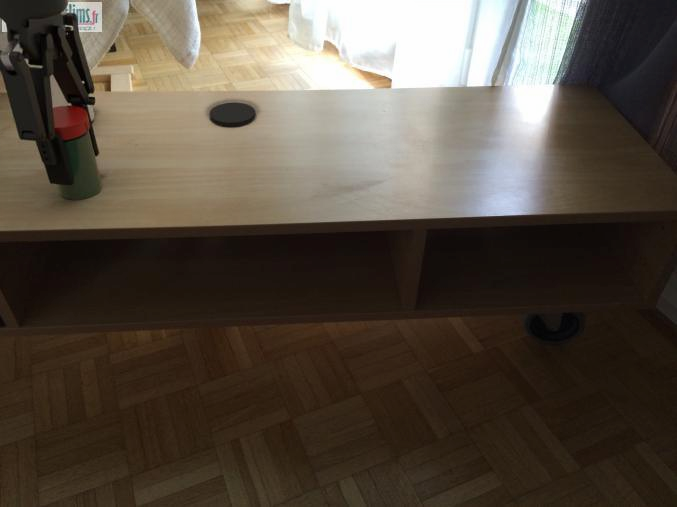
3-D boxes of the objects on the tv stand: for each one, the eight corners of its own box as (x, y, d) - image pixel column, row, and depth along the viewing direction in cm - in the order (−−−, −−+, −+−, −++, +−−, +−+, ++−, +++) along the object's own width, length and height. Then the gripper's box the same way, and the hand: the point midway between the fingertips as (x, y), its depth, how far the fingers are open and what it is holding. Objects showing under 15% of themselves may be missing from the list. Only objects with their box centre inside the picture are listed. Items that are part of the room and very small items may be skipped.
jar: (52, 198, 77) (30, 130, 71) (71, 176, 81) (52, 110, 75) (92, 201, 76) (73, 133, 70) (109, 179, 80) (93, 113, 74)
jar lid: (99, 120, 75) (96, 107, 74) (76, 143, 71) (73, 130, 69) (54, 116, 76) (50, 103, 75) (28, 138, 71) (24, 125, 70)
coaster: (204, 125, 93) (204, 120, 92) (216, 105, 98) (216, 100, 98) (249, 128, 92) (249, 124, 92) (259, 108, 98) (259, 103, 97)
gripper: (3, 1, 54) (68, 214, 69) (96, -50, 69) (134, 134, 84) (-77, -4, 55) (5, 208, 69) (33, -54, 70) (81, 129, 84)
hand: (75, 167), depth 76 cm, fingers open, 6 cm apart
